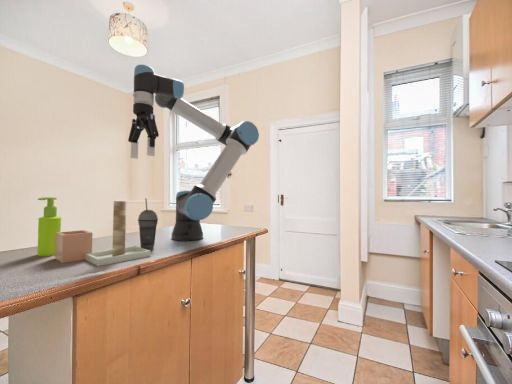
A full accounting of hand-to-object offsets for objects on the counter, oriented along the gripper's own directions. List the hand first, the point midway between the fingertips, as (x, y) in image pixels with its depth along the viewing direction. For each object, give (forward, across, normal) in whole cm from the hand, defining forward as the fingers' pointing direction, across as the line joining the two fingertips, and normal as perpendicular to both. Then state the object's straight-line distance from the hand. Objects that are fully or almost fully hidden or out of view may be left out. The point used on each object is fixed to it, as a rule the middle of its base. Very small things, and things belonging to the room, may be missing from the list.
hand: (142, 157), depth 102 cm
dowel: (+36, +14, -14) cm, 41 cm away
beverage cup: (+37, +6, 0) cm, 37 cm away
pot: (+37, +5, -24) cm, 44 cm away
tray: (+37, +14, -14) cm, 42 cm away
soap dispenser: (+37, -7, -28) cm, 47 cm away
